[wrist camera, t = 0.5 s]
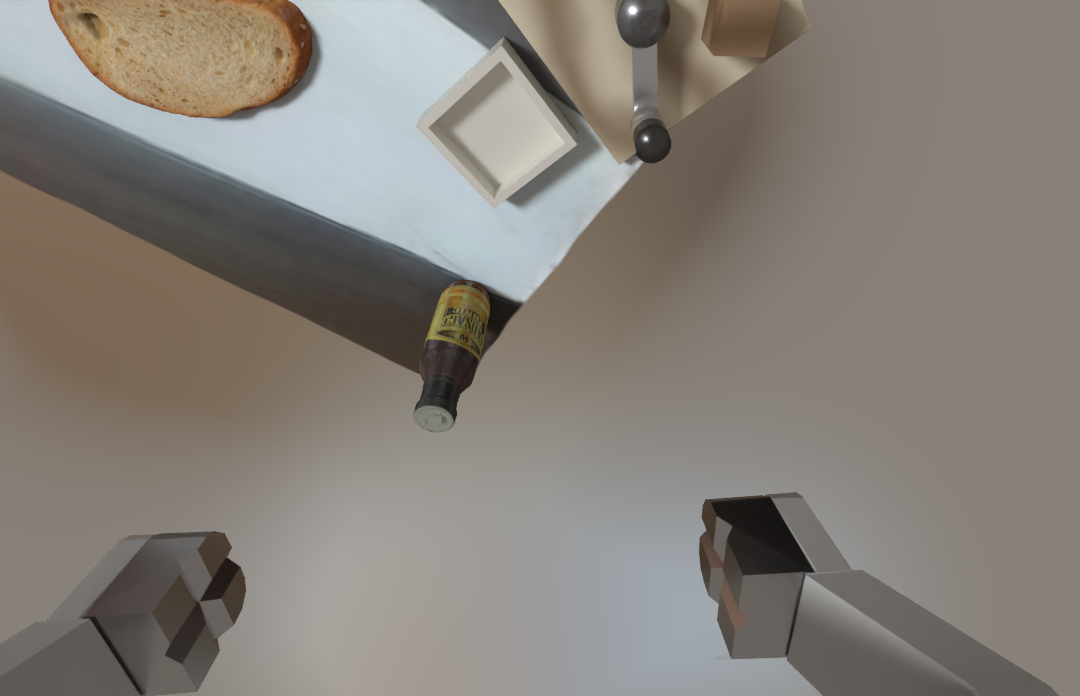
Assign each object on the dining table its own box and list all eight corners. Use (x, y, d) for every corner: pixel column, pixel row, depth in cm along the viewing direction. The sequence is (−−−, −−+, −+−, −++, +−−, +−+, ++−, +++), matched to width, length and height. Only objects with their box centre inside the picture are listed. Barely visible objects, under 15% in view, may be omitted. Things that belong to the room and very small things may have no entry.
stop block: (712, -18, 42) (726, -6, 39) (762, -17, 42) (782, -4, 39) (700, 39, 45) (713, 56, 41) (748, 40, 45) (765, 57, 41)
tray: (504, 36, 47) (501, 45, 44) (576, 132, 52) (577, 144, 50) (421, 114, 51) (415, 126, 49) (496, 194, 57) (493, 208, 55)
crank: (613, -14, 42) (621, 7, 37) (664, -23, 42) (680, -3, 36) (621, 130, 50) (629, 166, 44) (664, 123, 49) (678, 159, 44)
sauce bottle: (500, 292, 66) (484, 417, 51) (476, 323, 69) (453, 449, 55) (453, 266, 63) (421, 391, 49) (430, 300, 67) (394, 426, 52)
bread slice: (331, 35, 47) (317, 46, 45) (241, 169, 56) (224, 186, 53) (112, -167, 39) (78, -168, 36) (46, 29, 48) (15, 40, 45)
